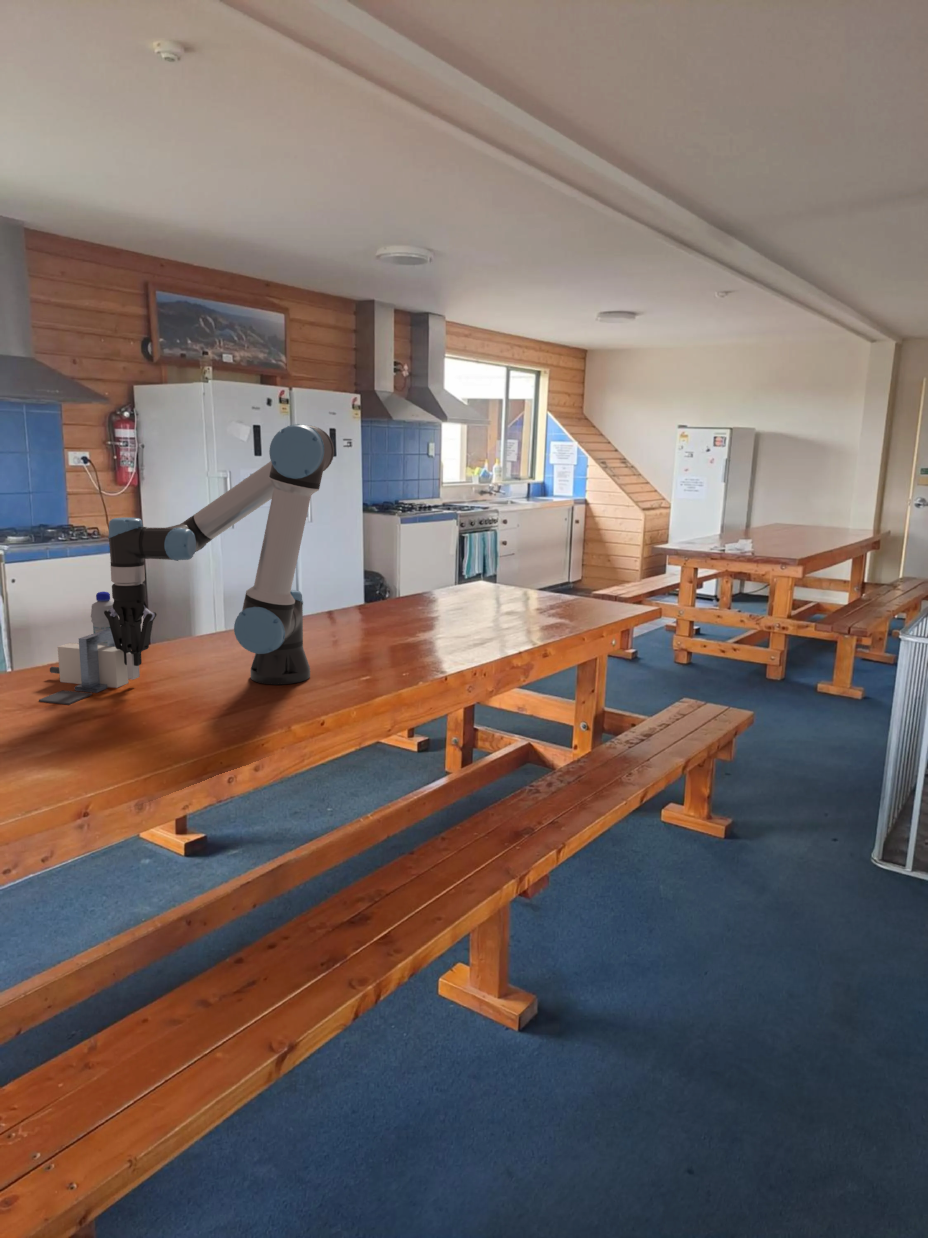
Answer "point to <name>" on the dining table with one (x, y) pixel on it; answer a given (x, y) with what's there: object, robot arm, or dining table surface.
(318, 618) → the dining table surface
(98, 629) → the bottle
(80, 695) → the mat
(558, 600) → the dining table surface
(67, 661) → the white block
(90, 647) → the blue-grey arch stand
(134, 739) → the dining table surface
